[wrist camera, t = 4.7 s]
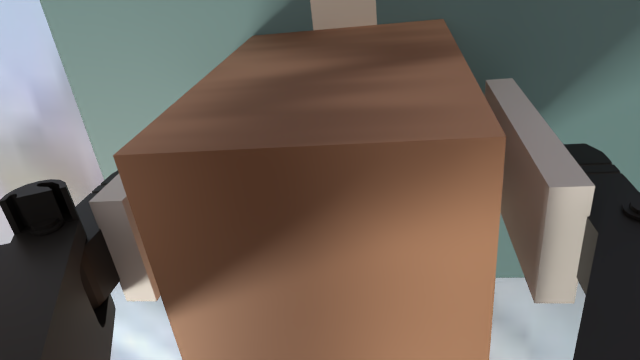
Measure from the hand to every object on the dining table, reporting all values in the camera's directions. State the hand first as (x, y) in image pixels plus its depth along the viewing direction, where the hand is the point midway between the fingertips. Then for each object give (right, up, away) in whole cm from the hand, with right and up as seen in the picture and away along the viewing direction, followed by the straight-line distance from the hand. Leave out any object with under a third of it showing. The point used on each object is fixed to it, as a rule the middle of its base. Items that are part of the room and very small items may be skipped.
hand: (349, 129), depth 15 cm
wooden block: (0, 0, +1) cm, 1 cm away
